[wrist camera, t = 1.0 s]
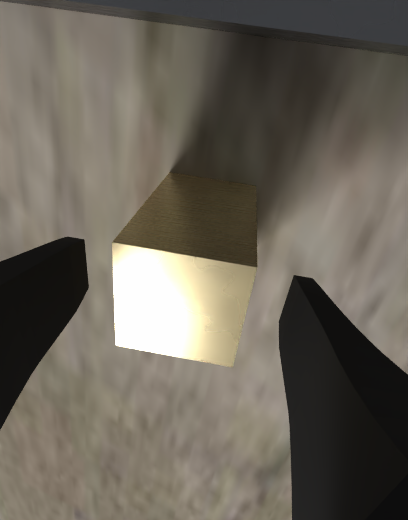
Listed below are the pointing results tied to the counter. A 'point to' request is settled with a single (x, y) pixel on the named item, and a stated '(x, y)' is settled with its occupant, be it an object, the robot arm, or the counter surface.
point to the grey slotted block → (269, 18)
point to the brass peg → (187, 269)
